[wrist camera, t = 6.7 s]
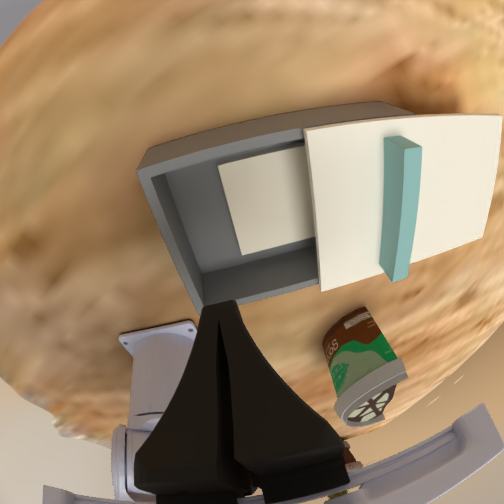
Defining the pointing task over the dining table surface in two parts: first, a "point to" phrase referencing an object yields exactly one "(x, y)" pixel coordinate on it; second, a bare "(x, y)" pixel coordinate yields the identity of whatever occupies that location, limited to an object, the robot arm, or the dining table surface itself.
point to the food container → (361, 368)
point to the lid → (398, 190)
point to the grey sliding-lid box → (243, 203)
